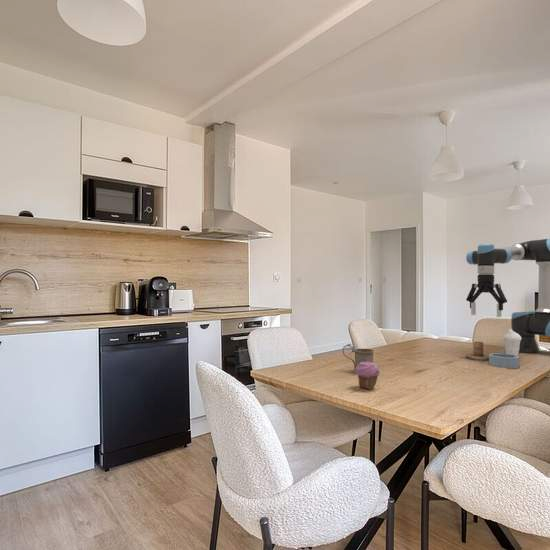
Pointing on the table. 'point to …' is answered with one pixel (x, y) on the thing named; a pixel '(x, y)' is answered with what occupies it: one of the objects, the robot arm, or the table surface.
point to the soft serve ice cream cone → (512, 342)
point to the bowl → (504, 360)
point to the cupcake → (367, 374)
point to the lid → (478, 353)
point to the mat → (473, 360)
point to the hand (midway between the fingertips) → (485, 315)
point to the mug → (360, 356)
